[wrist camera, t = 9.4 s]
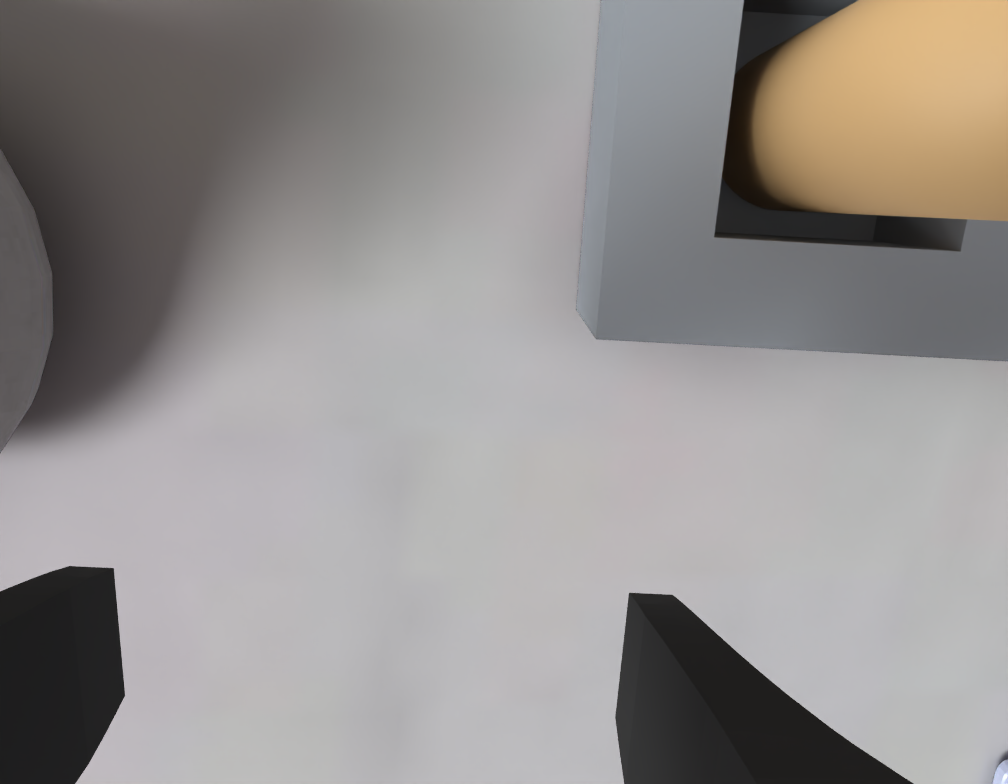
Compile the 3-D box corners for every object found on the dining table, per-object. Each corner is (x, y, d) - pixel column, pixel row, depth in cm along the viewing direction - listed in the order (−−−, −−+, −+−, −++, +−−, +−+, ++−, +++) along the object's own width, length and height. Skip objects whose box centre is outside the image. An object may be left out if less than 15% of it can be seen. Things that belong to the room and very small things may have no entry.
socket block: (1011, -71, 16) (1168, -153, 13) (929, 328, 19) (1041, 363, 15) (608, -97, 16) (642, -189, 12) (575, 309, 19) (595, 339, 15)
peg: (880, 50, 17) (1351, -132, 7) (852, 214, 18) (1241, 233, 8) (722, 40, 17) (998, -157, 7) (701, 205, 17) (924, 214, 8)
